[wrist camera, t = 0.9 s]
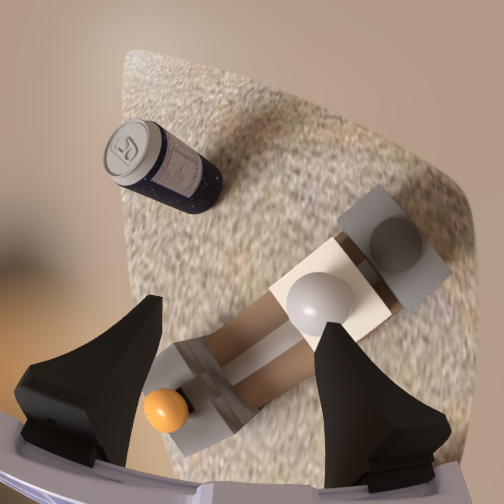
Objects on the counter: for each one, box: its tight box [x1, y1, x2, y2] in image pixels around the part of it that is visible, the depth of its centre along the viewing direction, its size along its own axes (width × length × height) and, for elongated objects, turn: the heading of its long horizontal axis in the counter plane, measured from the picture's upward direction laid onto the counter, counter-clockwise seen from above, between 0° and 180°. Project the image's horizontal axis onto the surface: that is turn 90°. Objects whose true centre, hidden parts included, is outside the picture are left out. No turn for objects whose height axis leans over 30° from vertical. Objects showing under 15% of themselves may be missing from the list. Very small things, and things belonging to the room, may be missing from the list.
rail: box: [142, 183, 452, 457], centre depth 25 cm, size 9×26×6 cm, turn 127°
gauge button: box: [144, 388, 190, 433], centre depth 23 cm, size 4×4×3 cm
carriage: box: [269, 237, 392, 352], centre depth 21 cm, size 7×6×8 cm
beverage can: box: [103, 119, 222, 214], centre depth 27 cm, size 6×6×12 cm
